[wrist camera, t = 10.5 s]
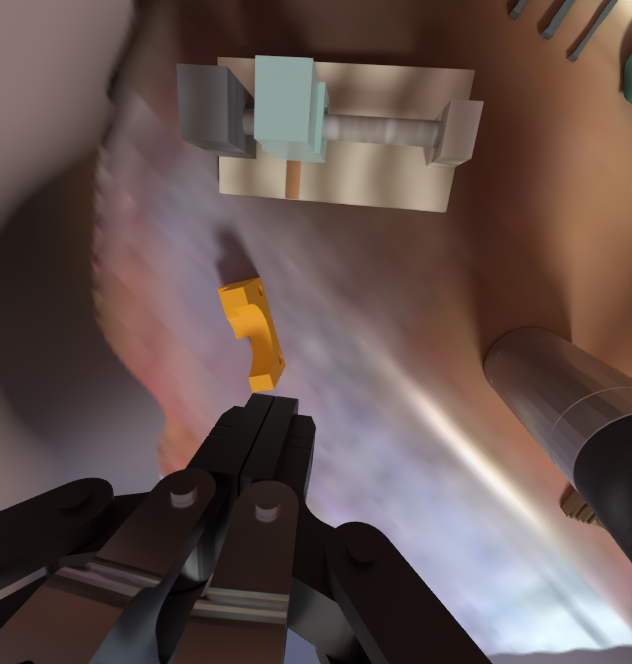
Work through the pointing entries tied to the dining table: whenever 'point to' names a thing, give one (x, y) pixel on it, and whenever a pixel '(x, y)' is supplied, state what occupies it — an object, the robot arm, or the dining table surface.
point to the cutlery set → (631, 65)
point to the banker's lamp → (581, 511)
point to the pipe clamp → (254, 330)
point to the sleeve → (290, 108)
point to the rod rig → (340, 133)
